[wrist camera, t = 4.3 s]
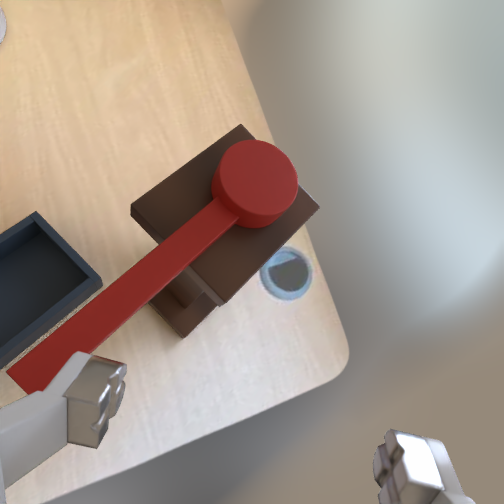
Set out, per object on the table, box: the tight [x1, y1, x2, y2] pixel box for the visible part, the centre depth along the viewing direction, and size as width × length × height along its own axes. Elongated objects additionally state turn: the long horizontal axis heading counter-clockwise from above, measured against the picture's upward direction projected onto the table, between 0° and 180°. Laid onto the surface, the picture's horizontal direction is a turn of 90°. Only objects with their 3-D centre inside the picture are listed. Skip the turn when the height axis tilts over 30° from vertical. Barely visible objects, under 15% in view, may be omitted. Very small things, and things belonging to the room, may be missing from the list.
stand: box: [130, 124, 320, 338], centre depth 33 cm, size 10×9×26 cm
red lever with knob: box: [7, 140, 298, 395], centre depth 18 cm, size 16×4×2 cm, turn 137°
